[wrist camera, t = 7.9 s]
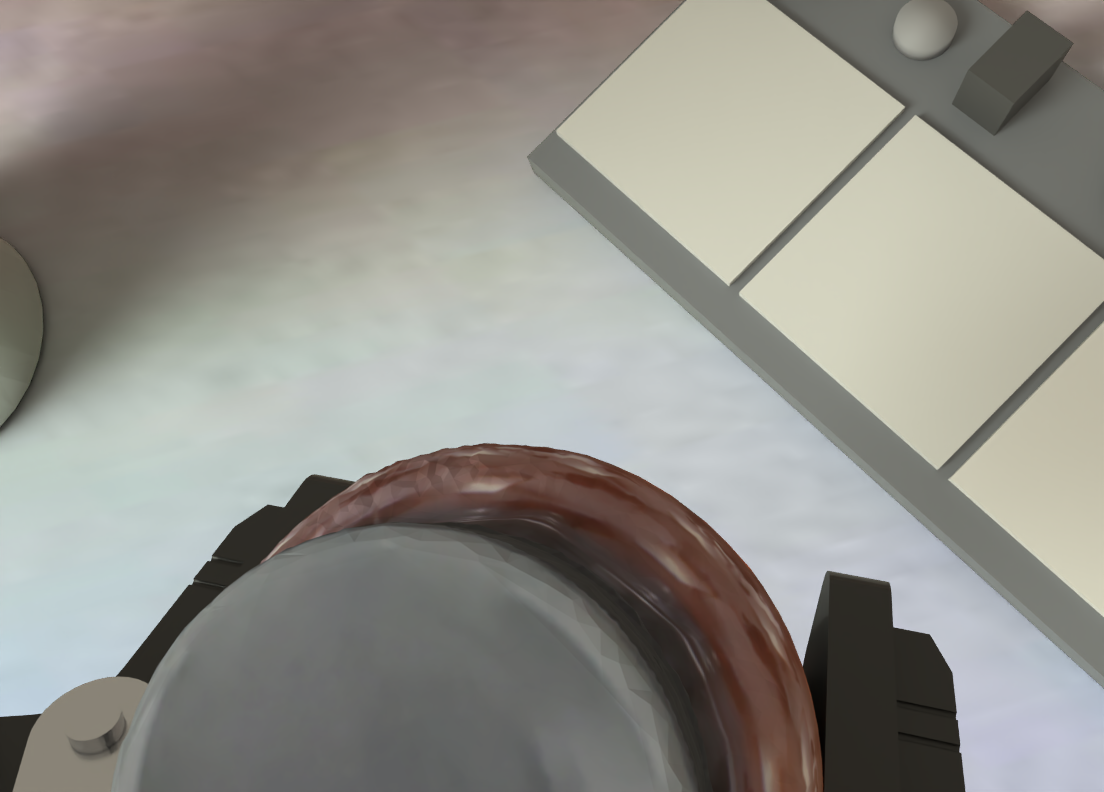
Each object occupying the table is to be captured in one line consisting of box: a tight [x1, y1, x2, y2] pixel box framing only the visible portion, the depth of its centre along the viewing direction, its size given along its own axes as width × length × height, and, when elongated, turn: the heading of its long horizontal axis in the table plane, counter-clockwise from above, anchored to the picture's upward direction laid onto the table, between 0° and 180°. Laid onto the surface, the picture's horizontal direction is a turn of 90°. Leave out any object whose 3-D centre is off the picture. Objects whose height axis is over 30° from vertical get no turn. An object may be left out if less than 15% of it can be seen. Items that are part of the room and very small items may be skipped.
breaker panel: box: [527, 0, 1104, 688], centre depth 27 cm, size 24×13×4 cm, turn 45°
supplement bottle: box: [111, 443, 823, 792], centre depth 11 cm, size 6×6×11 cm
